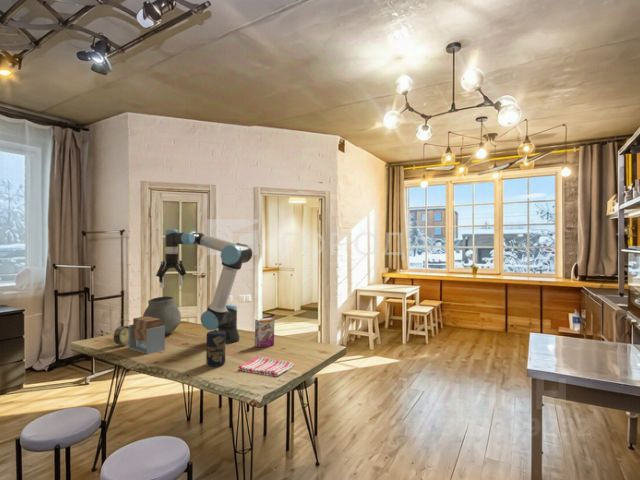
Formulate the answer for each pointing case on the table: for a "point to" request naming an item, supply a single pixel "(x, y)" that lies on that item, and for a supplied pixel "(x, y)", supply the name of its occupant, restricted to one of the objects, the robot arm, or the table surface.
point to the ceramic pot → (164, 312)
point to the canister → (215, 348)
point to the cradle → (148, 340)
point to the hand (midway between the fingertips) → (171, 286)
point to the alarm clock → (121, 335)
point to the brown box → (144, 326)
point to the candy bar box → (264, 332)
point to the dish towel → (266, 366)
